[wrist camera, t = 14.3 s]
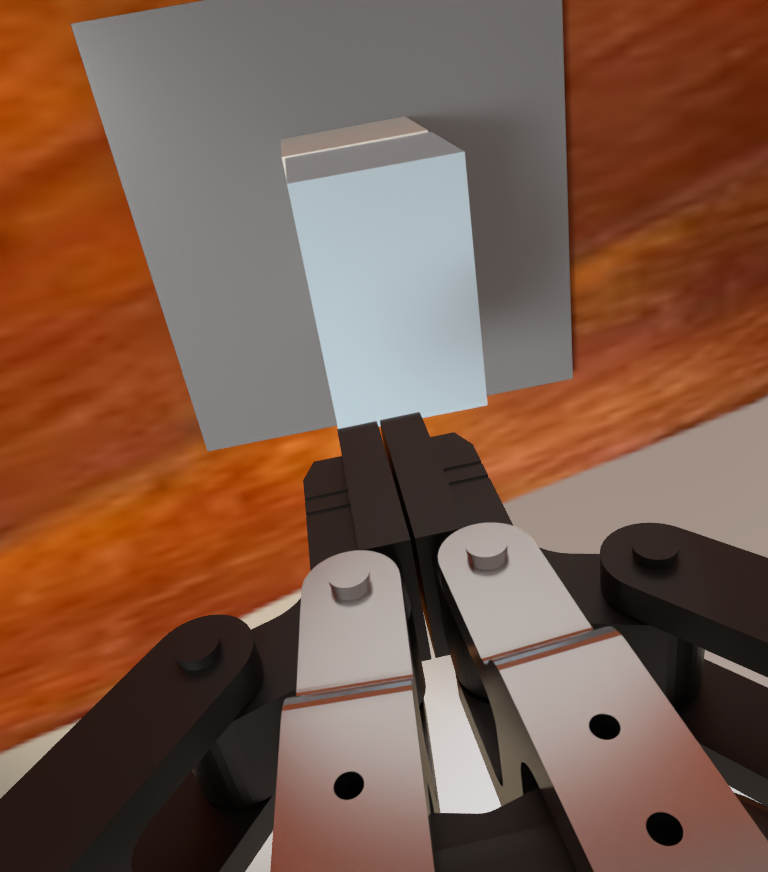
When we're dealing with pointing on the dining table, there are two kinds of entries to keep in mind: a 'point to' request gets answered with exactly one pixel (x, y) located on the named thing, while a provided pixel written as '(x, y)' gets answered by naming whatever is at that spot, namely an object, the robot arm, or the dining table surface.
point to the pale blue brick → (391, 276)
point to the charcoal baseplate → (267, 187)
